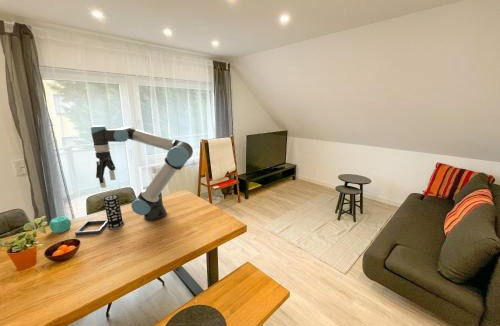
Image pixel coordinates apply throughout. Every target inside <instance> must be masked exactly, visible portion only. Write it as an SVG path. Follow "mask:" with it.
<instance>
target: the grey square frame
mask: <svg viewBox="0 0 500 326" xmlns="http://www.w3.org/2000/svg"><path fill="white" fill-rule="evenodd" d="M90 225H91V226H92V225H101V226H100V228H98V229H94V230H93V229H91V230H85V229H86V228H87V227H88V226H90ZM107 226H108V220H107V219H95V220H94V219H93V220H86V221H85V222H84V223H83V224H82V225H80V227H79V228H78V229H77V230H75V232H74V234H75V237H78V236H80V237H81V236H92V235H101V234H102V232H103V231H104V230H105V229H106V228H107Z"/></svg>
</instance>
